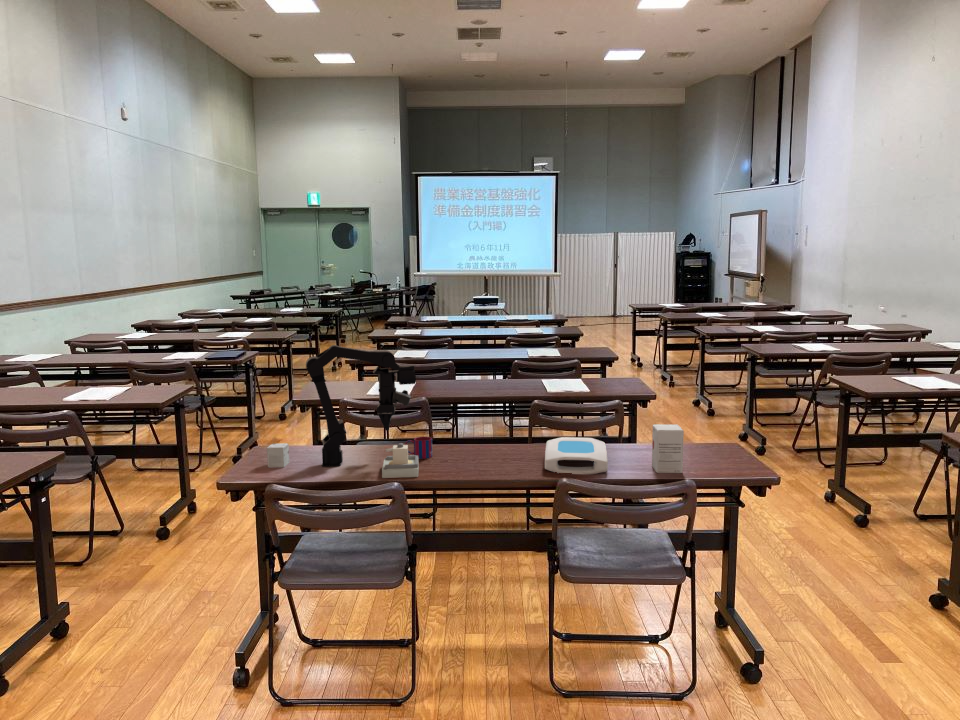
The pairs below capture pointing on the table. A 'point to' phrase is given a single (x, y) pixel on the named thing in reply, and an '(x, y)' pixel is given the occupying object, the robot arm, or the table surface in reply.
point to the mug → (422, 447)
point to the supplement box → (667, 448)
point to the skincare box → (278, 455)
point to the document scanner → (576, 454)
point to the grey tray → (400, 468)
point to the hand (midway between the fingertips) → (388, 427)
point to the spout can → (399, 453)
